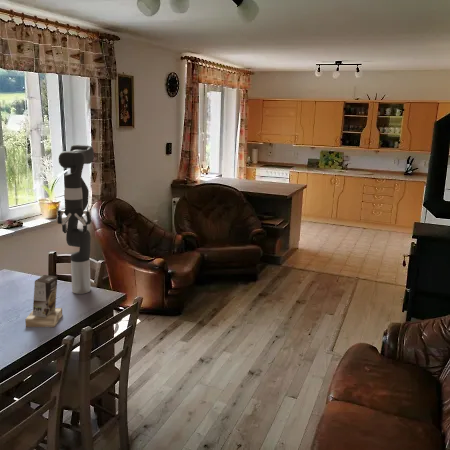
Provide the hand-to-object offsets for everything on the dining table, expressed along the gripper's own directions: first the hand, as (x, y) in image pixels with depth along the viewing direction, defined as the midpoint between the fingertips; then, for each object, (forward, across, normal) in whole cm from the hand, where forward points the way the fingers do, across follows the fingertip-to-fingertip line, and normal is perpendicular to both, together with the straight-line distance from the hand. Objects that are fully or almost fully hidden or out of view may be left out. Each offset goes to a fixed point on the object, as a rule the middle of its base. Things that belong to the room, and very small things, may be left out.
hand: (75, 233), depth 201 cm
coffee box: (+34, +12, +10) cm, 38 cm away
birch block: (+39, +12, +10) cm, 42 cm away
